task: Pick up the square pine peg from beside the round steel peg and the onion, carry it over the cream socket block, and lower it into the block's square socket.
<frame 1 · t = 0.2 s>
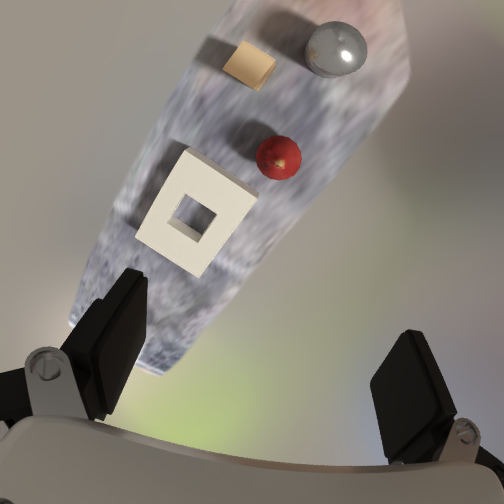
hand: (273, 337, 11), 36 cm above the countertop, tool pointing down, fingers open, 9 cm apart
square peg: (254, 71, 38), on the countertop
round peg: (328, 55, 36), on the countertop
onion: (278, 152, 43), on the countertop
socket block: (196, 211, 48), on the countertop
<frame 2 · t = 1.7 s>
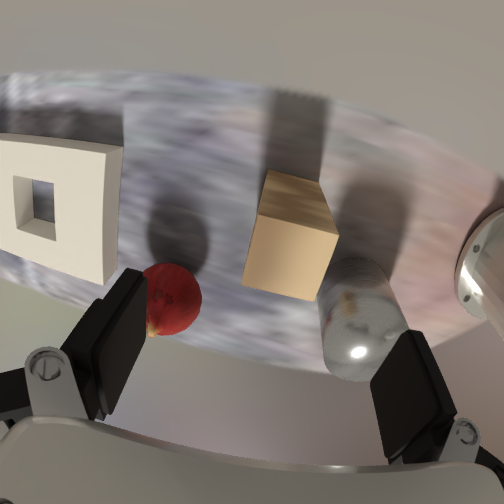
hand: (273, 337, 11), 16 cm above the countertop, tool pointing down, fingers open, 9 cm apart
square peg: (286, 199, 25), on the countertop
round peg: (352, 289, 28), on the countertop
onion: (179, 274, 29), on the countertop
socket block: (51, 197, 26), on the countertop
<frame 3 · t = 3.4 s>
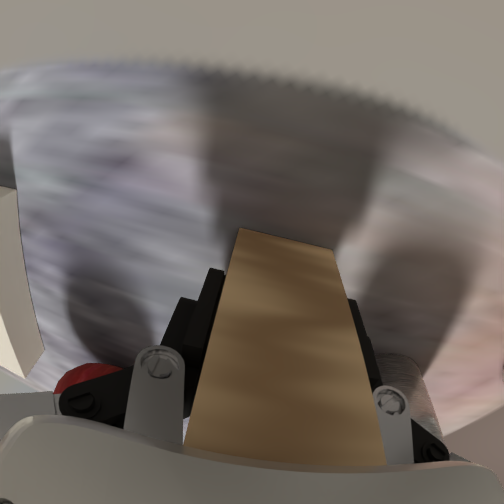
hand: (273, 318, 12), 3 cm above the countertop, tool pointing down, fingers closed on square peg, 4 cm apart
square peg: (274, 278, 14), on the countertop, touching gripper
round peg: (370, 390, 17), on the countertop
onion: (121, 367, 18), on the countertop
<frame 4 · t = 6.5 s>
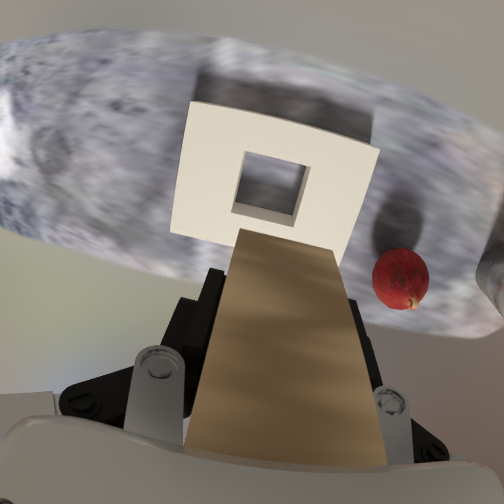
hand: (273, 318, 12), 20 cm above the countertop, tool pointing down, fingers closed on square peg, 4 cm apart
square peg: (274, 279, 14), point 17 cm above the countertop, touching gripper
round peg: (495, 268, 31), on the countertop
onion: (389, 259, 32), on the countertop
socket block: (270, 181, 29), on the countertop
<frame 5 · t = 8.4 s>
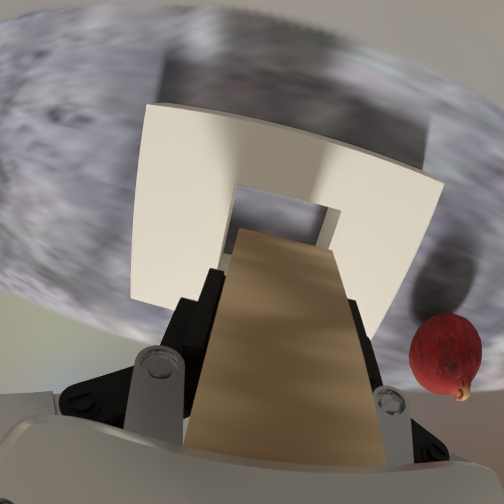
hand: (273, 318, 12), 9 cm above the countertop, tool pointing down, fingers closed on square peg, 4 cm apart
square peg: (274, 279, 14), point 6 cm above the countertop, touching gripper
onion: (428, 320, 23), on the countertop
socket block: (275, 224, 20), on the countertop
when the fingers open (4 cm above the countertop, at t = 9.8 s): square peg drops 1 cm, resting in socket block.
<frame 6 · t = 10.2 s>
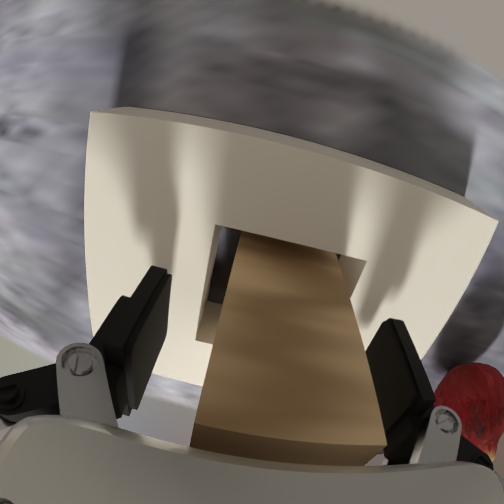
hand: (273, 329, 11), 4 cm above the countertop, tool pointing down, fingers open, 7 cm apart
square peg: (276, 267, 15), resting in socket block
onion: (451, 366, 18), on the countertop
socket block: (274, 267, 15), on the countertop
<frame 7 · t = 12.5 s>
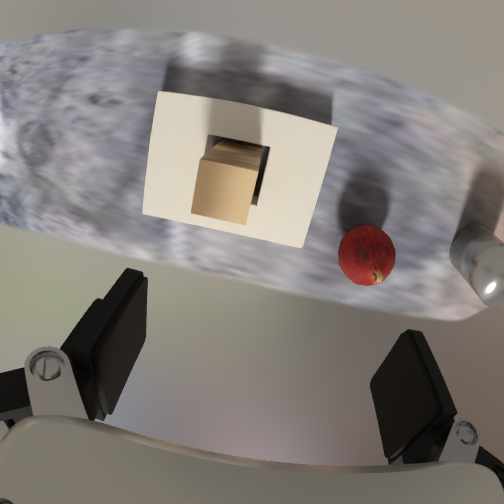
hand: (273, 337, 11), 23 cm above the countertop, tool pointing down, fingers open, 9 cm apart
square peg: (237, 163, 30), resting in socket block
round peg: (470, 247, 33), on the countertop
onion: (357, 238, 34), on the countertop
socket block: (236, 163, 30), on the countertop
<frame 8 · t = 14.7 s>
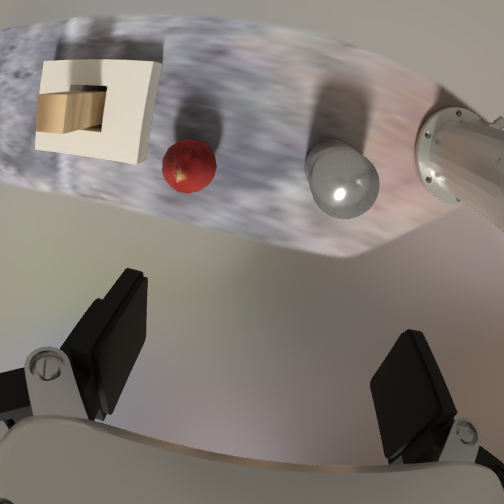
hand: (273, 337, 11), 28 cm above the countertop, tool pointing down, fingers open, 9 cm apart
square peg: (98, 105, 33), resting in socket block
round peg: (332, 167, 35), on the countertop
onion: (197, 158, 36), on the countertop
socket block: (97, 105, 33), on the countertop
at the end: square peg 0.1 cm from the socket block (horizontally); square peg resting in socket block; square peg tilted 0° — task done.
